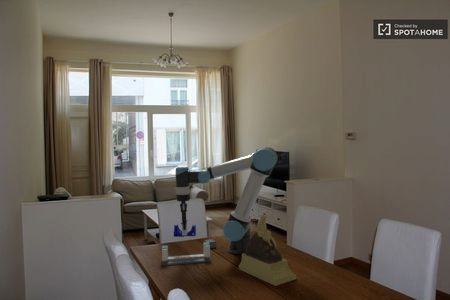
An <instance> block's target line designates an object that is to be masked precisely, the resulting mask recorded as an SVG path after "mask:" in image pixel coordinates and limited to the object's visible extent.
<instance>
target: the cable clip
mask: <svg viewBox="0 0 450 300" xmlns="http://www.w3.org/2000/svg"><path fill="white" fill-rule="evenodd" d="M173 229H174V230H173V237H174V238H176V237H177V238H178V237H179V238H185V237H196V236H197V226H196V224H192V226H191V229H190V231H187V235H184V236H182V229H180V227H179V224H176V223H175V224H174V226H173Z"/></svg>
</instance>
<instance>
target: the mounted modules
mask: <svg viewBox="0 0 450 300" xmlns="http://www.w3.org/2000/svg"><path fill="white" fill-rule="evenodd" d="M202 246H203V247H202V248H203V250H202V251H203V254H204V256H205V257H210V258H211V249H210V244H209V242H206V243H204V242H202ZM161 253H162V254H161V255H162V256H161V258H162V262H163V261H165V260H168V257H169V249H168V245H162V246H161Z"/></svg>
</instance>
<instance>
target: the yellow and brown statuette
mask: <svg viewBox="0 0 450 300" xmlns="http://www.w3.org/2000/svg"><path fill="white" fill-rule="evenodd" d="M266 219H267V215H266V214H264V213H263V214H261V215H260V218H259V220H258V221H257V225H256V232H255V233H253V234H252V235H251V239H250V241H249V242H248V244H247V247H246V252H245V253H243V254H241V259H240V260H241V261H240V263H239V265H238V270H240V271H242V272H243V273H247V274H249V275H251V276H252V277H255V278H257V279H260V280H262V281H264V282H266V283H269V284H270V285H273V286H275V287H276V286H279V285H283V284H285V283H288V282H291V281H294V280H296V279H297V275H296V274H295V273H294V272H293V271H292V270H291V269H290V267H289V265H288V259H285V258H282V254H281V253H280V251H278V249H277V242H276V240H275V238H274V237H273V236H272V232H271V231H270V230H268V229H267V222H266Z"/></svg>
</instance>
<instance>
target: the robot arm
mask: <svg viewBox="0 0 450 300" xmlns="http://www.w3.org/2000/svg"><path fill="white" fill-rule="evenodd" d="M278 157H279V156H278V153H277V151H276V150H275V149H273V148H272V147H261V148H259V149H257V150H256V151H255V152H252V154H249V155H246V156H243V157H239V158H235V159H232V160H228V161H225V162H221V163H218V164H215V165H211V166H207V167H203V168H201V169H197V170H196V169H193V170H192V169H191V170H190V169H189V167H188V166H178V167H176V168H175V175H174V176H175V188H174V189H175V193H176V201H177V202H180V203H179V207H180V213H181V223H180V225H181V231H182V236H184V235H187V232H188V225H187V224H188V223H187V222H188V219H187V212H188V209H187V207H188V203H187V202H188V201H190V199H191V197H190V191H191V190H190V184H208V183H210V180H213V179H217V178H221V177H224V176H229V175H232V174H236V173H241V172H244V171H248V170H250V174H249V176H248V178H247V181H246V183H245V186H244V187H243V190H242V193H241V195H240V197H239V200H238V202H237V205H236V206H235V210H232V211H231V212H230V214H229V216H228V218H227V221H226V222H225V223H224V225H223V229H222V230H223V234H224V236H225V238H226V239H227V240H229V245H228V252H229V253H230V254H234V255H242V254H243V253H245V252H246V247H247V244H248V242H249V241H250V239H251V237H252V234H251V233H252V229H251V228H252V227H251V214H252V211H253V209H254V206H255V205H256V202H257V200H258V197H259V194H260V192H261V189H262V188H263V186H264V183H265V180H266V178H268V177H270V176H271V173H272V171H273V169H274V167H275V166H276V165H277V162H278V159H279V158H278ZM184 237H185V236H184Z"/></svg>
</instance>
